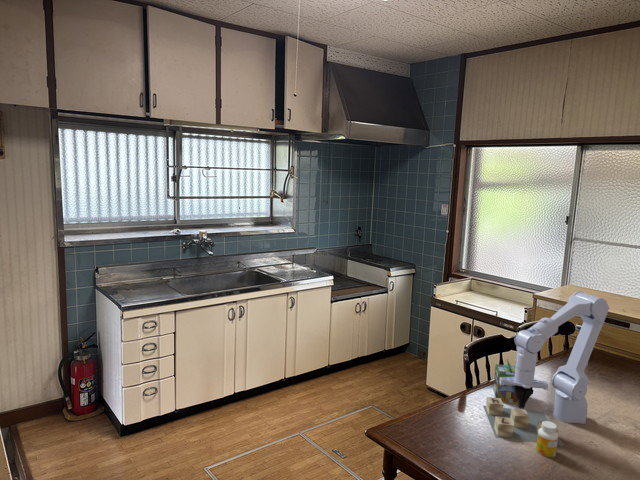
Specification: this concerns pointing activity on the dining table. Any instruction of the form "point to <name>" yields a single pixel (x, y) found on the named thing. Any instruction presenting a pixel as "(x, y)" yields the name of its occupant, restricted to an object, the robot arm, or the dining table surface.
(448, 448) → the dining table surface
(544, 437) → the supplement bottle
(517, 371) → the robot arm
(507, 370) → the chalk box
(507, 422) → the block seven
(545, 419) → the mat
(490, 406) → the block four
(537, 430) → the tan cube
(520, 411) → the plain block
